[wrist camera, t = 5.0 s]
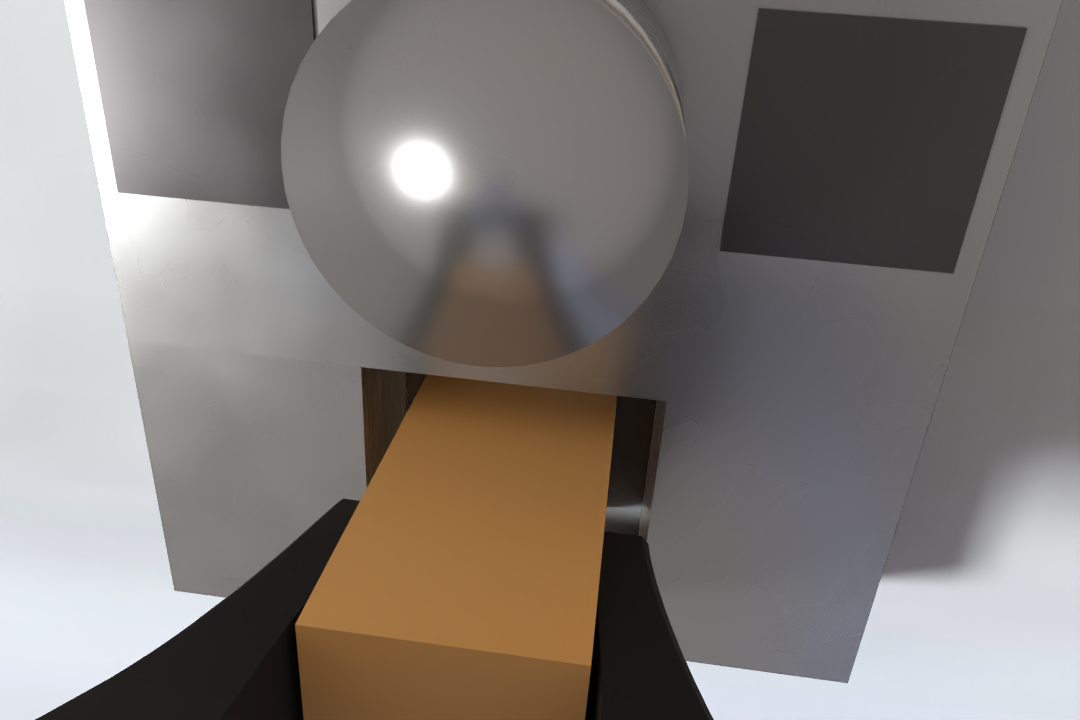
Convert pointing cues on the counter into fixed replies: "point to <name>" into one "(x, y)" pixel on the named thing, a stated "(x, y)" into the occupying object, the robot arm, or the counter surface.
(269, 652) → the robot arm
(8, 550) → the counter surface
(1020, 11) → the gray tray with knob
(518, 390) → the orange rectangular box
